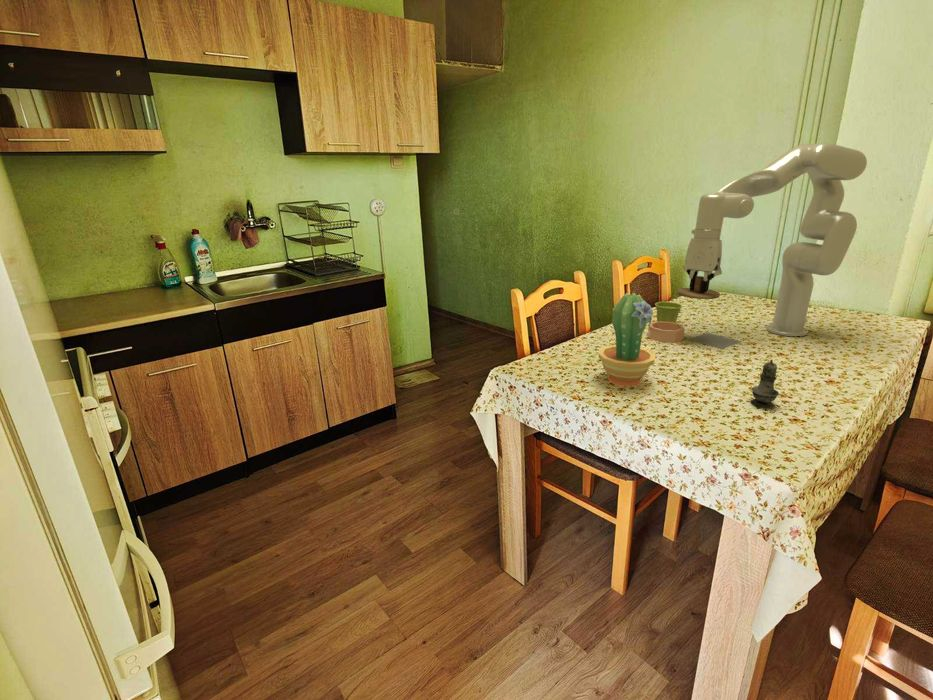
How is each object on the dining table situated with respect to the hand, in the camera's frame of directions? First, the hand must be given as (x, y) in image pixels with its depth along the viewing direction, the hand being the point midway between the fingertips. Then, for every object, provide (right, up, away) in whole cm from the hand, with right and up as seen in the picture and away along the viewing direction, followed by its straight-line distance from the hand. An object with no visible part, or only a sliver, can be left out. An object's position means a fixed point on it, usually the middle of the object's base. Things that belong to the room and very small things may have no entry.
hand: (698, 290), depth 160 cm
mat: (+7, -17, +4) cm, 19 cm away
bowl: (-8, -16, +9) cm, 20 cm away
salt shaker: (-2, -33, -38) cm, 51 cm away
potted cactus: (-32, -28, -23) cm, 48 cm away
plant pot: (-1, -11, +23) cm, 25 cm away
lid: (0, -1, 0) cm, 1 cm away
